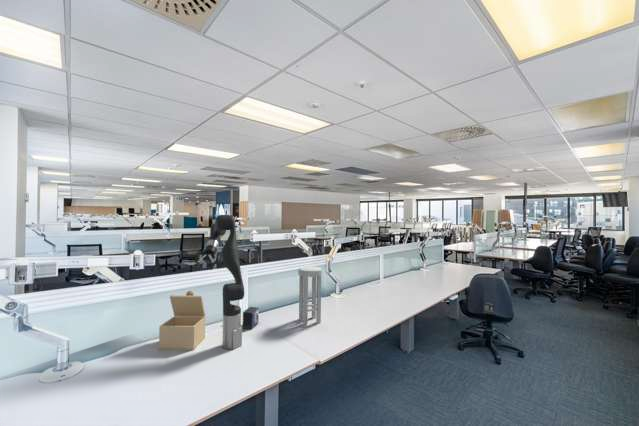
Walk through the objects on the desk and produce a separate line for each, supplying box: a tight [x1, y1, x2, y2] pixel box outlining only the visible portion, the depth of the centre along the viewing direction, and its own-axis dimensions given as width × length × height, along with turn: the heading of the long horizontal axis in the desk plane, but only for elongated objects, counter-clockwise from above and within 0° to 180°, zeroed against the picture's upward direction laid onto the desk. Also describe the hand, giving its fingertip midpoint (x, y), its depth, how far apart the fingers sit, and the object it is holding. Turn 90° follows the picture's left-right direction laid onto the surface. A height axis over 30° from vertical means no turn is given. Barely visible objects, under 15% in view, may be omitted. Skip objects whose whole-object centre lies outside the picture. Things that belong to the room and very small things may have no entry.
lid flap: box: [169, 290, 206, 318], centre depth 158 cm, size 14×17×7 cm
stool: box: [297, 266, 323, 326], centre depth 185 cm, size 16×16×35 cm
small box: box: [242, 306, 260, 330], centre depth 175 cm, size 11×6×10 cm, turn 168°
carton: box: [158, 316, 206, 351], centre depth 150 cm, size 14×18×12 cm
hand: (204, 268), depth 171 cm, fingers open, 8 cm apart
